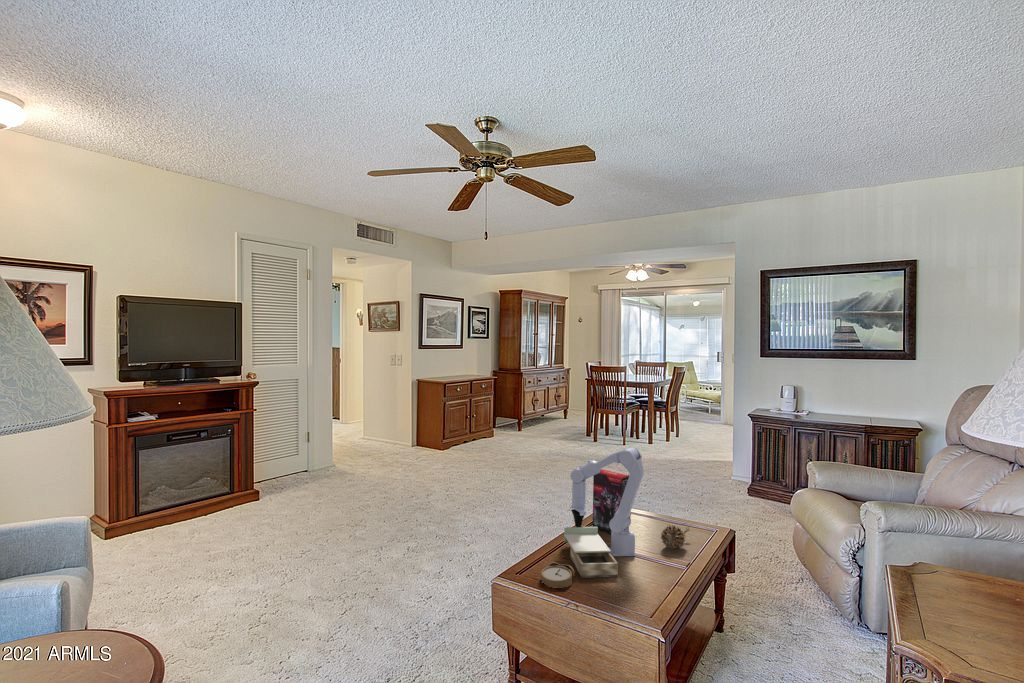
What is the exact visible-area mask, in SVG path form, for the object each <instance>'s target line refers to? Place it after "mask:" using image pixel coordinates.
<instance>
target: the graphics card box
mask: <svg viewBox="0 0 1024 683" xmlns="http://www.w3.org/2000/svg"><path fill="white" fill-rule="evenodd" d="M629 475H630V474H629ZM629 475H628V474H623V473H619V472H615V471H611V470H606V469H604V468H601V470H600V473H598V474H596V475H594V476H592V477H593V478H592V479H593V480H592V481H593V484H592V487H593V489H592V526H591V527H598V531H599V530H600V531H603V532H606V533H609V534H611V529H610V526H609V523H610V520H611V519H612V518H613V517H614V515H615V513H616V511H617V510H618V508H619V505H620V502H621V499H622V496H623V493H624V490H625V487H626V484H627V481H628V478H629ZM628 529H629V530H630V526H629V527H628Z"/></svg>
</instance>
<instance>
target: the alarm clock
mask: <svg viewBox="0 0 1024 683" xmlns="http://www.w3.org/2000/svg"><path fill="white" fill-rule="evenodd" d="M540 572H541V573H540V576H541V579H540V581H541V580H542V582H541V584H542V583H544V584H545V585H548V586H551V587H557V588H563V587H567V588H569V587H570V586H571V585H572V584H573V577H575V569H574V568H573V566H571V565H569V564H566V563H558V562H550V563H549V564H548V566H546V567H544V568H542V569H541V571H540ZM545 585H544V586H545ZM568 586H569V587H568ZM563 589H564V588H563Z"/></svg>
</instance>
